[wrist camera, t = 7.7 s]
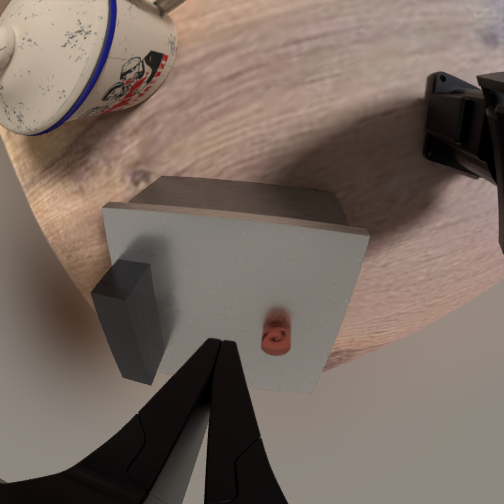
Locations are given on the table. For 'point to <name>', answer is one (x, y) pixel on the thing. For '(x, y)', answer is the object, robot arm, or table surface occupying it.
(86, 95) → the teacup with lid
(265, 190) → the metal box
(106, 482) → the robot arm
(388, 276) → the table surface
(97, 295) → the box lid
